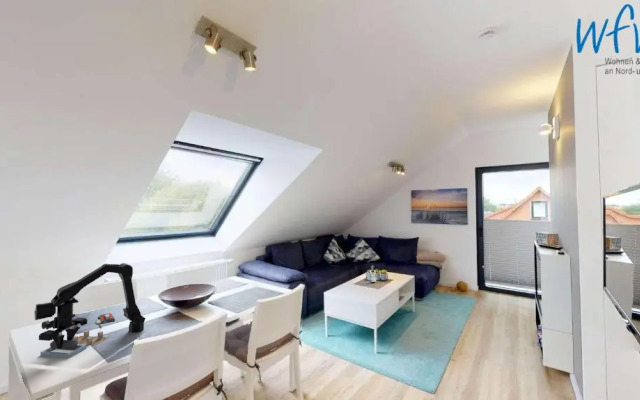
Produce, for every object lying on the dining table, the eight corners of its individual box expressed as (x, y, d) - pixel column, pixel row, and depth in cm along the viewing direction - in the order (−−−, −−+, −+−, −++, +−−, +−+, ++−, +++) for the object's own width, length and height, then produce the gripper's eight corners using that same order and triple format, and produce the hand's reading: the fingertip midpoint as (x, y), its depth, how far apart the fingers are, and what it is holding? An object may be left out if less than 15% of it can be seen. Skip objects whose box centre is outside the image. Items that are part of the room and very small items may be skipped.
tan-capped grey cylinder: (77, 347, 137) (77, 339, 137) (69, 351, 133) (69, 343, 133) (56, 345, 138) (56, 337, 138) (47, 350, 134) (48, 341, 134)
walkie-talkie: (93, 320, 174) (98, 331, 160) (93, 313, 174) (98, 323, 160) (111, 316, 180) (117, 327, 166) (111, 309, 180) (117, 319, 166)
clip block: (108, 340, 150) (108, 332, 150) (95, 347, 142) (95, 339, 142) (80, 337, 152) (81, 330, 152) (66, 345, 144) (66, 337, 144)
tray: (86, 350, 139) (86, 345, 139) (68, 360, 130) (69, 354, 130) (59, 348, 140) (59, 342, 140) (40, 358, 132) (40, 352, 132)
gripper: (68, 305, 146) (67, 336, 146) (28, 320, 127) (27, 355, 127) (88, 306, 145) (87, 337, 144) (50, 322, 126) (49, 357, 126)
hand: (64, 346), depth 135 cm, fingers closed on tan-capped grey cylinder, 4 cm apart
